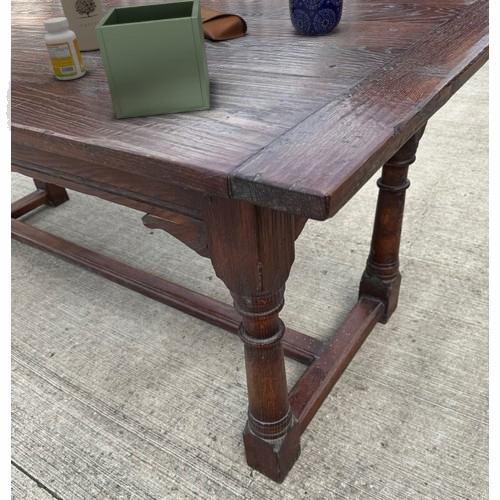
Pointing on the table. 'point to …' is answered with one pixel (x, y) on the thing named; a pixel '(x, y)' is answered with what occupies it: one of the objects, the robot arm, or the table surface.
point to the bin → (155, 58)
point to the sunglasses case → (222, 25)
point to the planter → (315, 15)
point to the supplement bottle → (63, 49)
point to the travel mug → (83, 21)
